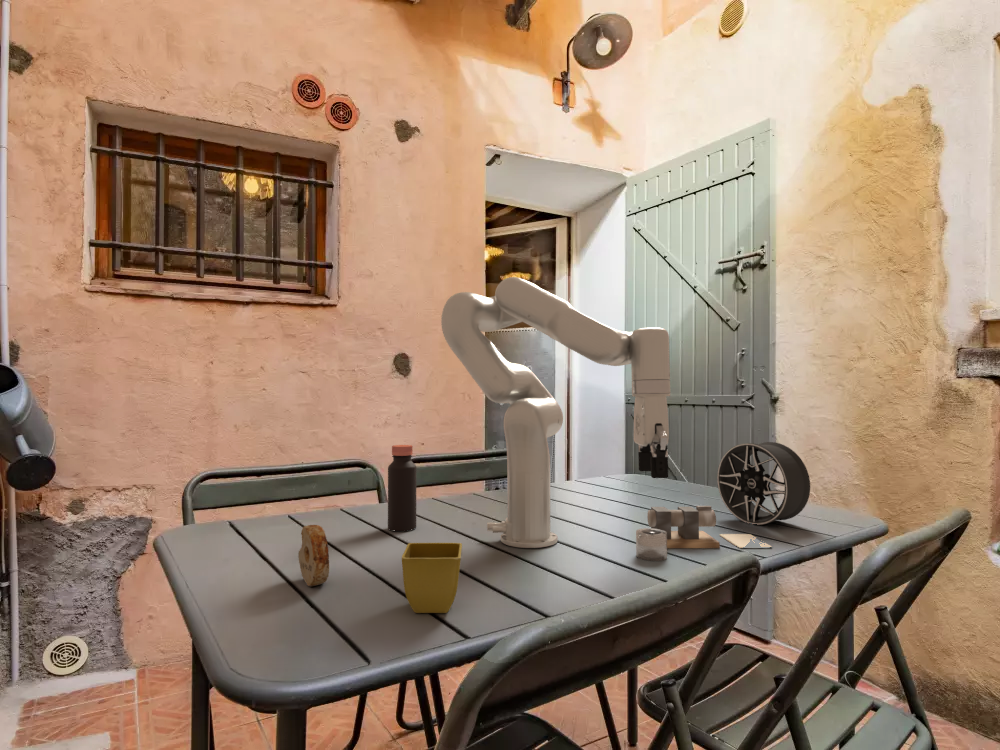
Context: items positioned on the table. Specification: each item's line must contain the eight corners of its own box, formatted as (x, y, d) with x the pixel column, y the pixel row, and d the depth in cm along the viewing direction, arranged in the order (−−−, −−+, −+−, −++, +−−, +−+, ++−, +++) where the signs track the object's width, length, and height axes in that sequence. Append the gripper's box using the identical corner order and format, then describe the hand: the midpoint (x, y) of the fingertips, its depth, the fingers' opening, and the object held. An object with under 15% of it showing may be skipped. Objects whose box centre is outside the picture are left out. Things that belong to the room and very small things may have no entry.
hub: (640, 561, 115) (640, 535, 115) (633, 552, 121) (633, 528, 121) (670, 561, 115) (670, 535, 115) (662, 552, 121) (662, 528, 121)
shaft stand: (653, 548, 124) (653, 511, 124) (641, 536, 134) (641, 502, 134) (721, 548, 124) (721, 511, 124) (705, 536, 134) (704, 501, 134)
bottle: (411, 532, 138) (411, 447, 138) (383, 531, 139) (383, 446, 139) (419, 526, 144) (419, 444, 145) (393, 525, 145) (393, 444, 146)
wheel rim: (717, 516, 154) (716, 440, 155) (740, 512, 159) (739, 438, 159) (788, 532, 137) (786, 446, 138) (811, 527, 142) (810, 444, 142)
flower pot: (462, 597, 95) (462, 541, 95) (460, 618, 86) (460, 557, 87) (408, 598, 95) (408, 542, 95) (400, 619, 86) (400, 558, 86)
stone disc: (333, 589, 99) (333, 530, 99) (310, 593, 97) (310, 533, 97) (318, 573, 108) (318, 518, 108) (297, 576, 106) (297, 520, 106)
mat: (739, 548, 124) (739, 547, 124) (719, 535, 134) (719, 534, 135) (772, 548, 124) (772, 547, 124) (750, 535, 135) (750, 534, 135)
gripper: (623, 389, 127) (624, 468, 127) (643, 389, 110) (645, 481, 109) (657, 389, 127) (659, 468, 127) (683, 388, 110) (685, 480, 109)
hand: (652, 474), depth 118 cm, fingers open, 9 cm apart
